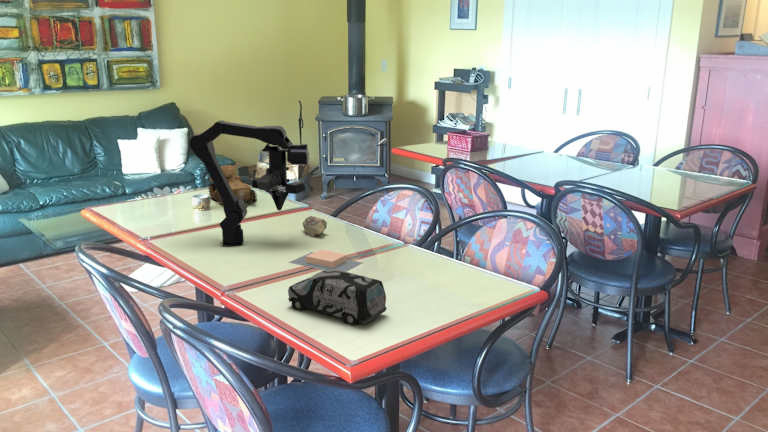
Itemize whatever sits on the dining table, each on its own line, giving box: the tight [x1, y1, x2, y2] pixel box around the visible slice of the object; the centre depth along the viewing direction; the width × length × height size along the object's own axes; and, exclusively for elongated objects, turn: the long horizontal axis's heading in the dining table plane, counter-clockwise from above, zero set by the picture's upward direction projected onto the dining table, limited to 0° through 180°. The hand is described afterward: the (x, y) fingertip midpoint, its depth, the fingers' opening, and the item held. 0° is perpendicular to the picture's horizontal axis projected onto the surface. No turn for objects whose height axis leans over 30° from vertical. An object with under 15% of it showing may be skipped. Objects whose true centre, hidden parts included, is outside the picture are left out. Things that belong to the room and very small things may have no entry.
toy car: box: [287, 269, 387, 326], centre depth 162 cm, size 11×25×10 cm, turn 58°
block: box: [306, 248, 348, 269], centre depth 198 cm, size 2×8×10 cm
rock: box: [302, 215, 328, 238], centre depth 228 cm, size 7×11×10 cm
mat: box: [288, 252, 363, 272], centre depth 199 cm, size 20×12×1 cm, turn 59°
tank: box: [208, 164, 258, 206], centre depth 274 cm, size 13×27×15 cm, turn 33°
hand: (279, 210), depth 215 cm, fingers closed
